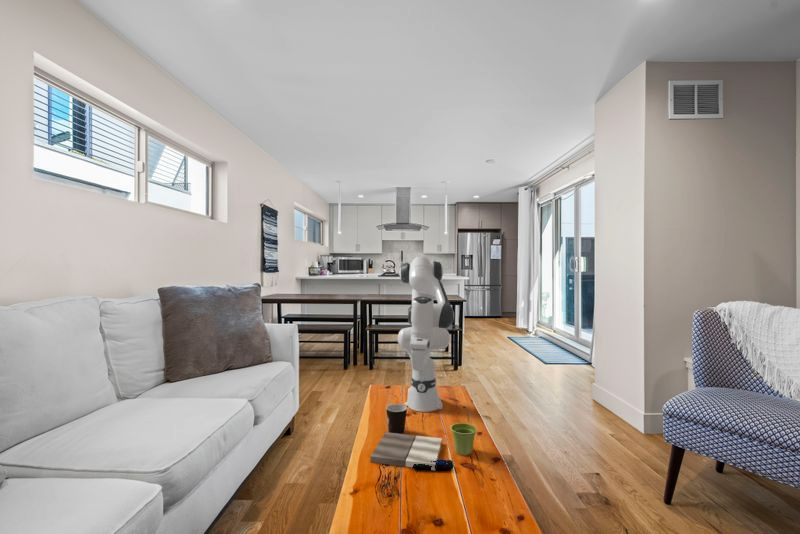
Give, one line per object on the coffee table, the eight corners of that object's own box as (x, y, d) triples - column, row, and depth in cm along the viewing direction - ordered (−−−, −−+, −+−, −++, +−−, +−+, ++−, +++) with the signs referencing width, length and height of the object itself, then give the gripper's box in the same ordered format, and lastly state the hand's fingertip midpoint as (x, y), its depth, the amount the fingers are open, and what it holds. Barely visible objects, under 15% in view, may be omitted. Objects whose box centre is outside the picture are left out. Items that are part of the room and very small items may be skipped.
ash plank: (416, 440, 143) (416, 435, 143) (442, 443, 141) (442, 438, 141) (405, 466, 124) (405, 460, 124) (435, 470, 122) (435, 464, 122)
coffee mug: (404, 437, 146) (404, 412, 146) (383, 435, 147) (383, 410, 148) (409, 426, 157) (410, 402, 157) (390, 424, 159) (390, 401, 159)
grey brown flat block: (385, 437, 146) (385, 432, 146) (415, 440, 143) (415, 435, 143) (370, 462, 127) (370, 456, 127) (404, 466, 124) (404, 460, 124)
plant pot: (476, 459, 129) (476, 434, 129) (449, 456, 131) (449, 431, 131) (477, 447, 138) (477, 424, 138) (451, 444, 140) (451, 421, 141)
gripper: (418, 333, 152) (418, 367, 152) (408, 345, 132) (408, 383, 132) (433, 334, 150) (433, 368, 151) (426, 346, 130) (425, 384, 131)
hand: (421, 375), depth 141 cm, fingers closed
